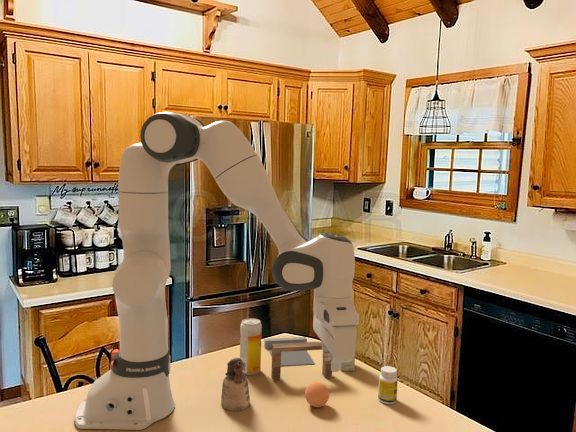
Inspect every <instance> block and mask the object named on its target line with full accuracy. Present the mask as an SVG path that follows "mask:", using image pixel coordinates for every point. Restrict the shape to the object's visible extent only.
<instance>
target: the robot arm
mask: <svg viewBox="0 0 576 432" xmlns="http://www.w3.org/2000/svg"><path fill="white" fill-rule="evenodd" d="M139 137H140V142H137V143H133V144H130V145H128V146H126V148H125V149H124V150H123V151H122V154H121V158H120V164H119V172H118V183H117V188H118V189H117V191H118V192H117V197H118V198H117V199H118V200H117V201H118V203H117V206H118V207H117V208H118V211H117V212H118V228H119V231H120V236H121V241H122V249H123V260H122V262H120V264H119V265H118V266H117V267H116V268H115V271H114V274H113V277H112V290H113V291H112V292H113V294H114V298H115V305H116V311H117V317H118V323H119V324H118V325H119V349H117V348H116V349H113V350H112V351H111V354H110V357H111V359H110V369H109V370H108V371H106V372H105V373H104V374H103V375H100V377H97V378H96V380H95V381H94V382H93V383H92V384H91V386H90V387H89V389H88V391H87V394H86V398H85V399H84V400H83V401H82V402H81V403H80V404H79V406H78V407H77V409H76V411H75V414H74V415H75V416H74V424H75V426H76V428H78V429H84V430H86V429H87V430H129V431H130V430H131V431H134V430H135V431H141V430H145V429H146V428H148V427H149V426H151V425H152V424H153V423H155V422H157V421H160V420H162V419H164V418H166V417H167V416H169V415H170V414H171V413H172V412H173V411H174V409H175V405H176V403H175V401H174V398H173V394H172V389H171V384H170V383H171V382H170V371H171V355H170V354H171V353H170V349H169V318H168V313H167V312H168V311H167V302H166V285H167V282H168V279H169V277H170V276H171V275H170V274H171V270H172V269H171V268H172V265H171V244H170V234H169V233H170V232H169V174H170V171H171V169H172V168H173V167H174V166H175V167H180V166H184V165H185V164H188V163H189V164H190V163H193V162H196V161H198V160H199V161H201V162H202V163H203V164H204V165H205V166H206V167H207V169H208V171H209V172H210V174H211V175H212V177H213V179H214V181H215V183H216V185H217V186H218V187H219V189H220V191H221V192H222V193H223V194H224V196H225V197H226V198H227V199H228V200H229V201H230V202H231V204H232V205H234V206H237V207H239V208H241V209H243V210H246V211H248V212H250V213H252V214H253V215H254V216H255V217H257V218H258V220H259V221H260V222H261V224H262V225H263V227H264V228H265V230H266V231H267V233H268V235H269V236H270V238H271V239H272V240H273V242H274V244H275V245H276V248H277V250H278V254H277V256H276V258H274V261H273V263H272V268H271V274H272V277H273V280H274V281H275V283H276V284H277V285H278V286H279V287H280V288H281V289H283V290H285V291H287V292H288V291H289V292H302V291H311V290H313V303H312V305H313V306H312V307H313V308H312V310H313V322H312V327H313V331H314V333H315V334H316V335H317V337H318V338H319V339H320V341H321V345H322V351H321V352H322V353H321V354H322V356H321V357H322V360H323V359H324V360H325V361H327V360H331V356H332V361H331V362H330V369H331V370H332V373H338V372H340V371H341V370H340V363H341V362H351V361H352V360H353V358H354V356H355V357H356V347H357V346H356V345H357V327H356V326H357V325H358V326H359V324H360V314H359V313H358V311H357V308H356V306H355V301H354V288H353V281H354V278H355V267H356V265H355V263H356V258H355V255H356V254H355V248H354V244H353V243H352V241H351V240H350V239H349V238H348V237H346V236H343V235H342V234H337V233H334V232H322V233H320V234H319V235H317V236H316V237H314V238H312V239H310V240H309V239H307V238H306V237H305V236H304V235H302V234H301V233H300V231H299V230H298V229H297V227H296V226H295V224H294V223H293V221H292V220H291V218H290V216H289V214H288V213H287V212H286V210H285V208H284V206H283V205H282V203H281V201H280V199H279V198H278V196H277V193H276V191H275V189H274V187H273V183H272V182H271V179H270V177H269V175H268V172H267V171H266V167H265V166H264V164H263V162H262V160H261V159H260V156H259V155H258V154H257V152H256V150H255V149H254V147H253V146H252V144H251V143H250V142H249V140H248V138H247V137H246V136H245V134H244V133H243V132H242V130H241V129H240V128H239V127H237V125H236V124H235V123H233V122H232V121H230V120H225V119H224V120H217V121H214V122H212V123H210V124H208V125H206V126H205V124H204V123H203V122H202V121H201V120H199V119H198V118H195V117H192V116H190V115H188V114H184V113H179V112H178V113H175V112H171V111H161V112H157V113H154V114H152V115H151V116H149V117H148V118H147V119H146V120H145V121H144V122H143V124H142V126H141V129H140V136H139Z"/></svg>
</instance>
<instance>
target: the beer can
mask: <svg viewBox="0 0 576 432" xmlns="http://www.w3.org/2000/svg"><path fill="white" fill-rule="evenodd" d="M239 328H240V330H239V332H240V333H239V334H240V336H239V338H240V339H239V358H240V359H241V360H242V362H243V365H242V372H243V374H244V375H245V376H254V375H257V374H258V373H259V372H260V371H261V367H262V366H261V364H262V328H263V327H262V323H261V320H260V319H257V318H251V317H250V318H248V317H247V318H244V319H242V320H241V323H240V327H239Z"/></svg>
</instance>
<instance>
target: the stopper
mask: <svg viewBox="0 0 576 432" xmlns="http://www.w3.org/2000/svg"><path fill="white" fill-rule="evenodd" d="M263 340H264V341H263V343H264V344H263V346H264V349H265V350H266V349H272V344H282V343H301V342H308V339H307V337H306V336H300V337H299V336H296V337H277V338H264V339H263Z"/></svg>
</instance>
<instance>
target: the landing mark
mask: <svg viewBox="0 0 576 432" xmlns="http://www.w3.org/2000/svg"><path fill="white" fill-rule="evenodd" d="M268 351H269V353H270V357H272V349H269V350H268ZM304 365H305V366H306V365H315V362H314V360H313V358H312V357H311V355H310V353H309V352H308V350H306V351H288V352H281V367H291V366H304Z"/></svg>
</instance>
